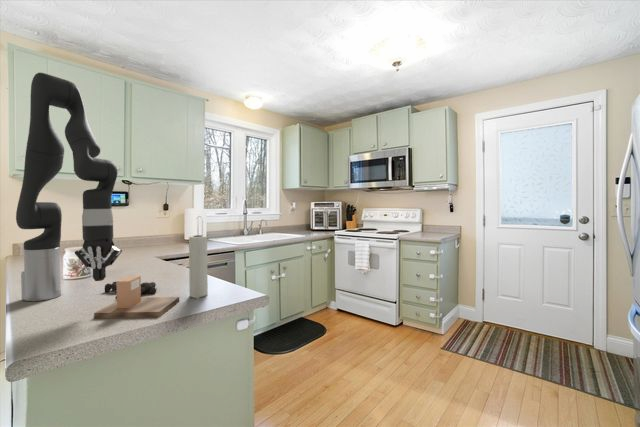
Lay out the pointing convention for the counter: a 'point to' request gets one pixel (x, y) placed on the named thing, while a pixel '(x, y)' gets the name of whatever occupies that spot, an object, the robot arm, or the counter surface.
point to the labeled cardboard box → (128, 291)
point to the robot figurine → (144, 287)
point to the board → (139, 308)
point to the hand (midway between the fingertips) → (99, 280)
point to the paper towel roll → (198, 266)
